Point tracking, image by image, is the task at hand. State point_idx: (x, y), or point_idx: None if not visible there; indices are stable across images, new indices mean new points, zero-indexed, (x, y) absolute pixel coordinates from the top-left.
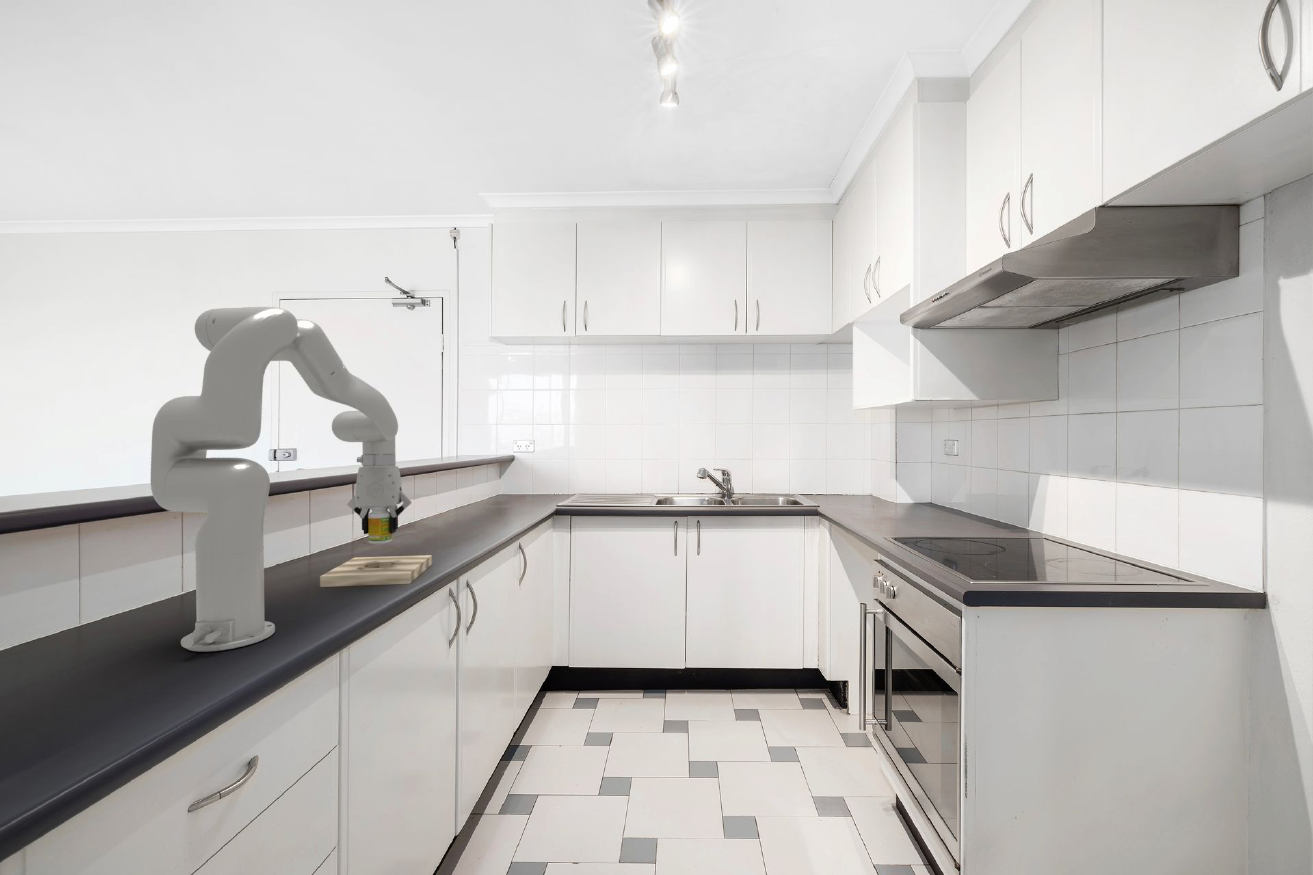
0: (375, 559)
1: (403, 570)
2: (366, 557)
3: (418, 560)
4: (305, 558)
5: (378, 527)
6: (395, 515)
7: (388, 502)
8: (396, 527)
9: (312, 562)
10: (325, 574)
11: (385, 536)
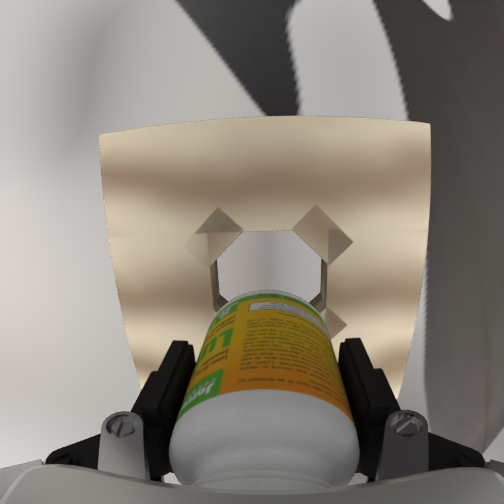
0: None
1: (134, 177)
2: None
3: (150, 338)
4: (492, 435)
5: (248, 340)
6: (116, 427)
7: (77, 499)
8: (152, 380)
9: (483, 411)
10: (424, 149)
11: (216, 322)
